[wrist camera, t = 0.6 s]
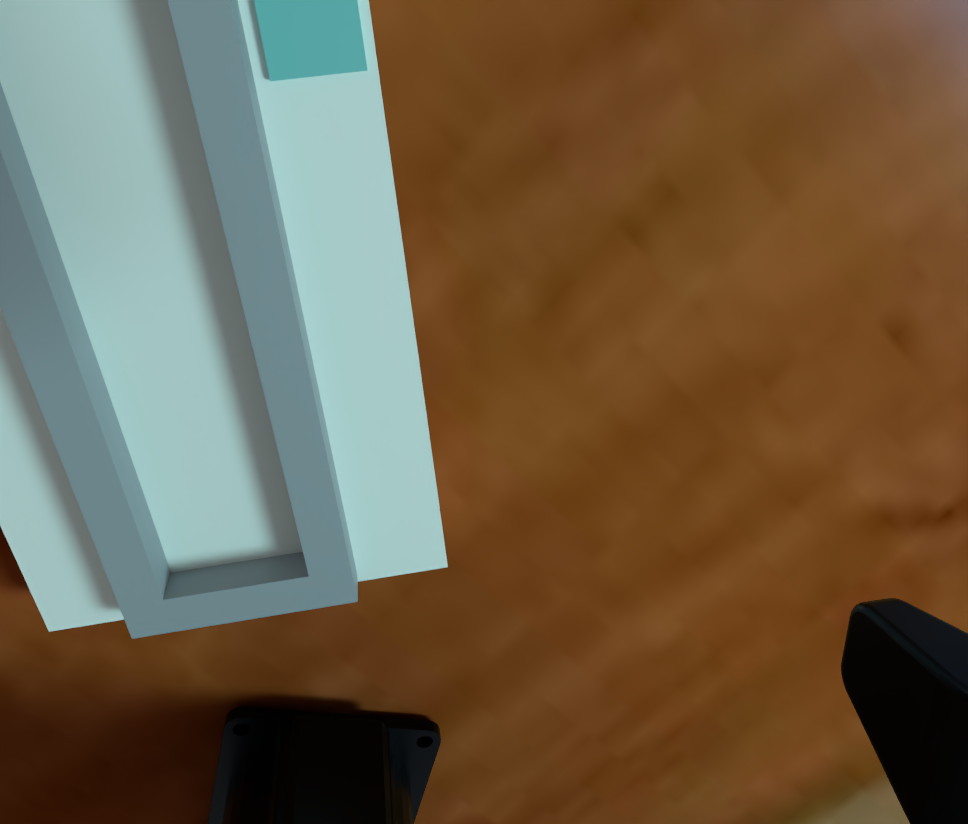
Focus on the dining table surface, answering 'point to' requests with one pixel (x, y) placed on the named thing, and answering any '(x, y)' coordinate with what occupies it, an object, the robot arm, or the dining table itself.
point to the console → (203, 314)
